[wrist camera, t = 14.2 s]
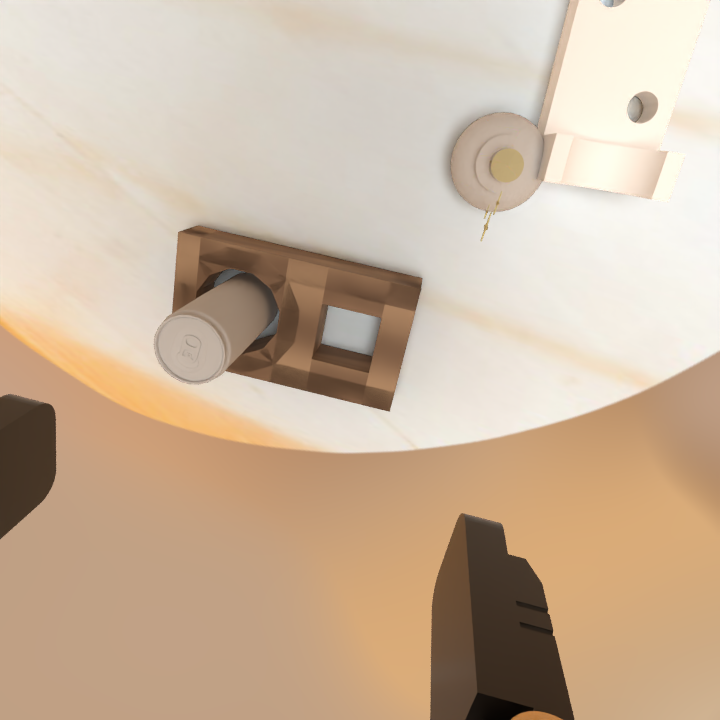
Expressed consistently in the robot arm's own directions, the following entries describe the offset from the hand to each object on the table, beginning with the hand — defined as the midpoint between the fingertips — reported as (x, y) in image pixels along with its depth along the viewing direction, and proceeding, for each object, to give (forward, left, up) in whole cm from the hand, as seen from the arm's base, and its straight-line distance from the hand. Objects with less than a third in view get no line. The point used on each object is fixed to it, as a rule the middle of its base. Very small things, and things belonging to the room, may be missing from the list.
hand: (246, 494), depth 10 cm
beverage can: (+7, -10, -33) cm, 35 cm away
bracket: (-13, +12, -33) cm, 38 cm away
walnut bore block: (+7, -6, -33) cm, 34 cm away
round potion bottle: (-6, +6, -33) cm, 34 cm away
